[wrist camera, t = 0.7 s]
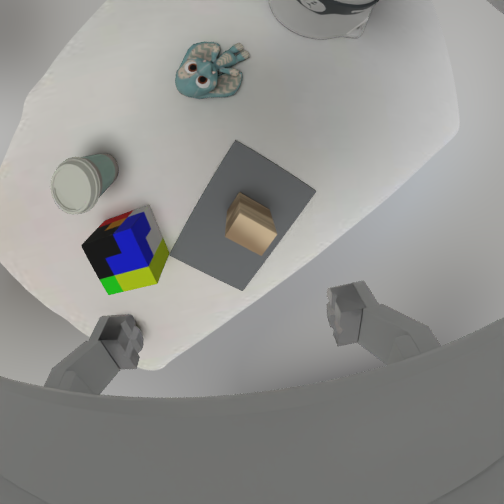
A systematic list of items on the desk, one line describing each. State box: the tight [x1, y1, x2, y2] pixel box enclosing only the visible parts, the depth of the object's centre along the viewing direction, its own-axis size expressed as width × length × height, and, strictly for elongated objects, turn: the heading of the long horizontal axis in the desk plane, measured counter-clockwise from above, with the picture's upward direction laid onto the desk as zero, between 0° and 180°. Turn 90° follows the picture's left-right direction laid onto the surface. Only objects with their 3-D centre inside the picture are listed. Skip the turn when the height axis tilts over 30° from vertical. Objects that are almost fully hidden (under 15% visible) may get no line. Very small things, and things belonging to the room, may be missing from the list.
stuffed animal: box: [175, 42, 249, 99], centre depth 33 cm, size 11×7×12 cm
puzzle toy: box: [81, 205, 169, 295], centre depth 44 cm, size 10×10×10 cm
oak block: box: [225, 192, 277, 256], centre depth 42 cm, size 4×6×10 cm, turn 58°
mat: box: [170, 140, 316, 291], centre depth 48 cm, size 24×16×1 cm, turn 148°
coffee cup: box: [51, 154, 118, 214], centre depth 37 cm, size 8×8×12 cm
